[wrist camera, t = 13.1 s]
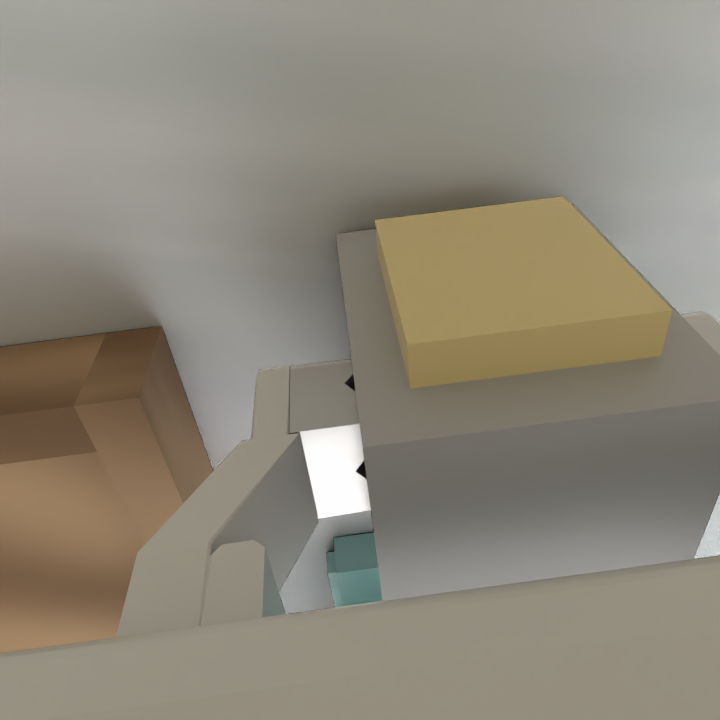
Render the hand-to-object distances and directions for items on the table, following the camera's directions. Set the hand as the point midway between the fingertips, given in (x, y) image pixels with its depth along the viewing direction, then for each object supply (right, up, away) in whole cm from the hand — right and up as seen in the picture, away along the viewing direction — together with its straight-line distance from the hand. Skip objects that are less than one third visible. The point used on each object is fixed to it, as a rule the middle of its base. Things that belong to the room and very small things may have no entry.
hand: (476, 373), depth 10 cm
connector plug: (0, +1, +1) cm, 2 cm away
